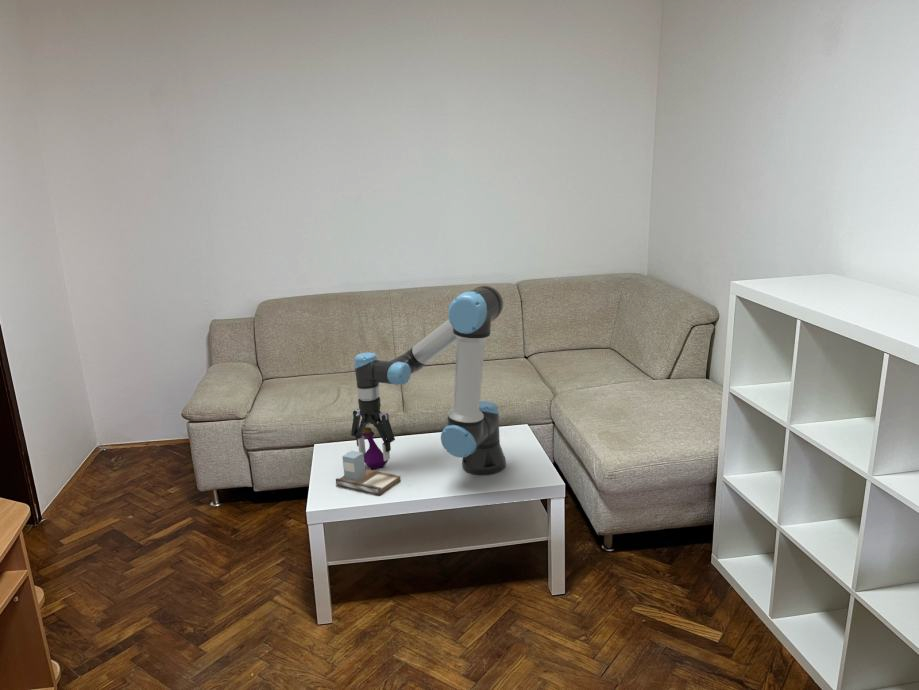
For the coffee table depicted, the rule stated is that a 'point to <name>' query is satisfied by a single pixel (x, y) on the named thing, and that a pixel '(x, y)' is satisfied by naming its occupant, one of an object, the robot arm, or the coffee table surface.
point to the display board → (370, 482)
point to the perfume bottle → (373, 451)
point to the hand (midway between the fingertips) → (374, 457)
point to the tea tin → (354, 465)
